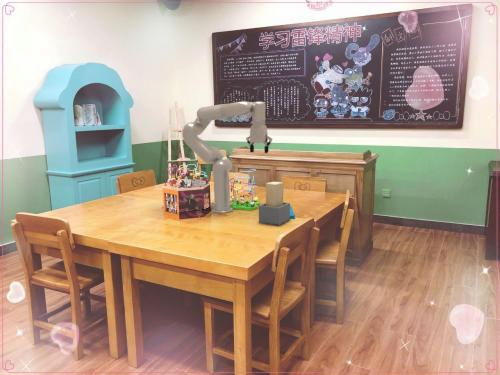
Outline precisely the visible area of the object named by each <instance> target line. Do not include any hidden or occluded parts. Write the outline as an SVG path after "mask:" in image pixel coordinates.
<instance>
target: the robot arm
mask: <svg viewBox="0 0 500 375" xmlns="http://www.w3.org/2000/svg"><path fill="white" fill-rule="evenodd" d="M247 115H252V117H251V118H252V120H251V121H250V124H252V125H251V126H250V131H249V135H248V136H247V137H246V138H245V140H246V143H247V144H248V146H249V150H250V151H249V153H254V152H255V145H254V144H263V145H264V148H263V149H264V154H268V153H269V146H271V144H272V141H273V138H272V137H270V136H269V135H268V127H267V125H266V102H264V101H254V102H251V101H238V102H237V101H236V102H231V103H222V104H215V105H209V106H202V107H200V108H198V110H197V111H196V119H194V121H191V122H188V123H186V124H185V125H184V126H183V129H182V134H181V135H182V139H183V142H184V143H185V144H186V146H187V147H189V149H191V150H192V151H193V152H194V153H195V155H197V156H198V157H199V158H200V159H201V160H202V161H203V162H204V163H206V164H212V168H211V170H212V177H213V195H214V200H213V201H214V202H211V203H210V204H211V206H210V207H211V208H212V209H211V210H212V213H216V214H227V213H232V212H233V210H234V208H232V207H231V199H230V198H231V196H230V194H231V193H230V192H231V191H230V188H231V187H230V186H231V185H230V175H229V173H231V171H232V169H233V163H232V161H231V160H230V158H228V157H227V156H226V155H225V154H224V153H223V152H222V151H221V150H220V149H219V148H217V147H215V146H209V145H208V144H207V143H206V142H205V141H204V140H203V139H202V138H200V137H199V136H200V135H202V134H203V133H204V131H205V130H206V129H207V128H208V126H209V125H210V123H212V121H218V120H224V119H227V118H231V117H233V118H234V117H239V116H247Z"/></svg>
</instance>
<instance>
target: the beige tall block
mask: <svg viewBox="0 0 500 375" xmlns="http://www.w3.org/2000/svg"><path fill="white" fill-rule="evenodd" d="M283 202H284V182H282V181H271V182H266V183H265V203H266V206H270V207H280V206H282V205H283Z"/></svg>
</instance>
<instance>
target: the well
mask: <svg viewBox="0 0 500 375" xmlns="http://www.w3.org/2000/svg"><path fill="white" fill-rule="evenodd" d="M290 205H291V203H290V202H284V201H283V205H282V206H280V207H270V206H266V202H264V203H261V204H260V205H258V224H262V225H267V226H275V227H281V226H282V225H284V224H286V223H288V222H289V221H291V219H290Z"/></svg>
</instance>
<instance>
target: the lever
mask: <svg viewBox="0 0 500 375" xmlns="http://www.w3.org/2000/svg"><path fill="white" fill-rule="evenodd" d="M295 219H296V215H295V212H294V210H293V207H292V205H291V204H290V220H295Z"/></svg>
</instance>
